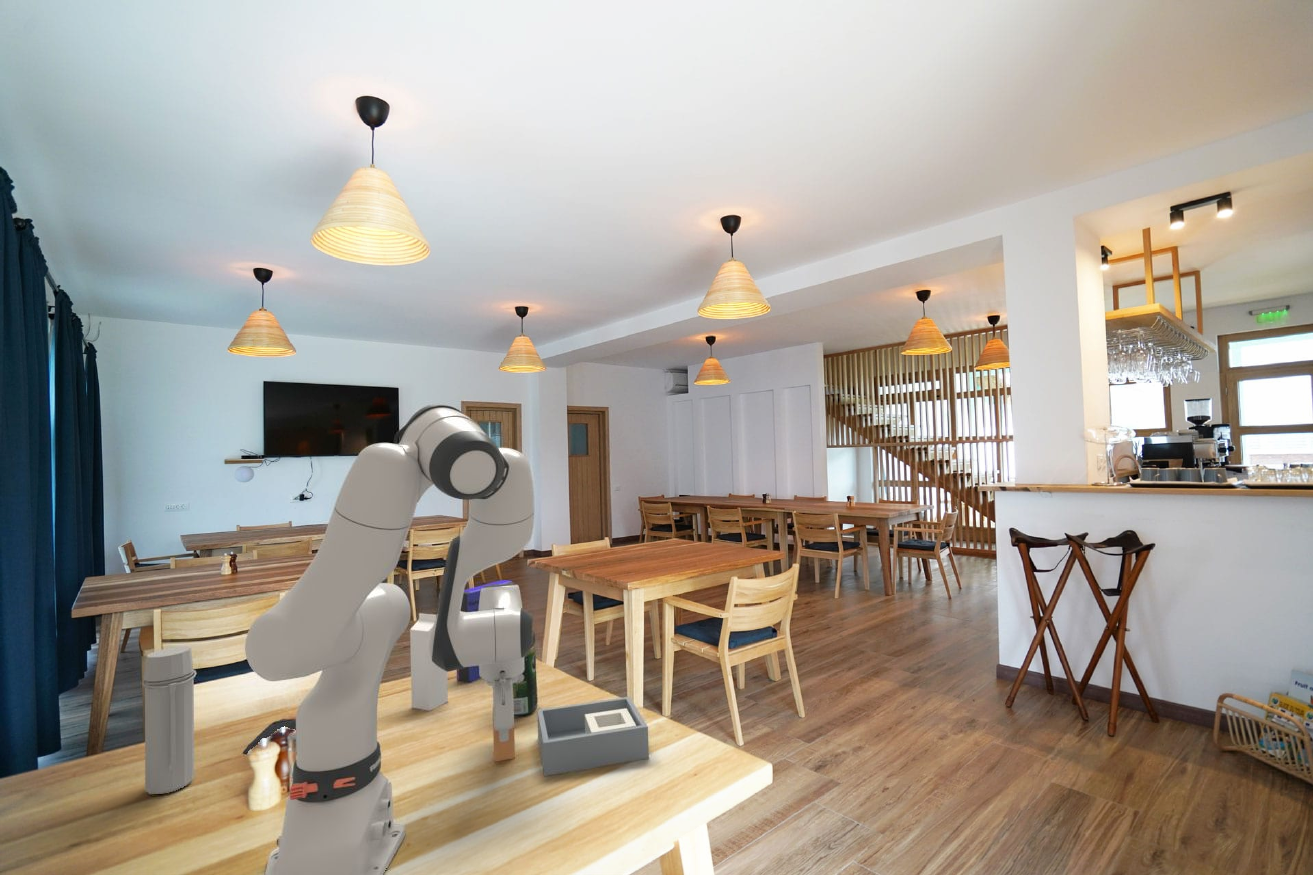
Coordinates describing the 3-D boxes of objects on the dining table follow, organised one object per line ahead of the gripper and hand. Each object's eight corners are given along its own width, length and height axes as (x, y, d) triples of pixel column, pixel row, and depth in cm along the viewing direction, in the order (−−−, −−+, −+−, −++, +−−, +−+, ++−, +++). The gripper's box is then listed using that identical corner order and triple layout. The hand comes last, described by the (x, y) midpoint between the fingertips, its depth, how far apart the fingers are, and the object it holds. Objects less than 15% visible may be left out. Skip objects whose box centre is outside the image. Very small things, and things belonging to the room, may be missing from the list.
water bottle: (140, 788, 112) (140, 652, 113) (193, 771, 118) (192, 642, 119) (145, 807, 106) (145, 663, 107) (201, 788, 111) (200, 652, 112)
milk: (429, 698, 151) (428, 610, 152) (448, 701, 149) (446, 611, 150) (411, 708, 146) (409, 615, 147) (429, 711, 143) (428, 617, 144)
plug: (515, 758, 119) (513, 707, 119) (493, 761, 118) (492, 710, 118) (514, 748, 122) (512, 700, 123) (493, 752, 121) (492, 702, 122)
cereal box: (503, 661, 178) (500, 579, 179) (515, 663, 176) (512, 580, 177) (456, 680, 163) (454, 591, 164) (469, 683, 161) (467, 593, 162)
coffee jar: (507, 702, 147) (505, 625, 148) (540, 700, 147) (537, 624, 148) (498, 719, 137) (495, 636, 138) (532, 717, 137) (530, 635, 138)
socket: (637, 745, 120) (636, 725, 120) (592, 753, 117) (591, 732, 117) (627, 727, 128) (626, 708, 128) (585, 733, 126) (584, 714, 126)
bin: (648, 757, 117) (647, 726, 117) (544, 775, 111) (543, 742, 112) (630, 724, 132) (629, 696, 132) (538, 738, 127) (537, 709, 127)
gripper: (520, 679, 112) (522, 755, 111) (516, 647, 131) (517, 711, 131) (485, 683, 110) (487, 760, 109) (486, 651, 130) (487, 716, 129)
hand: (503, 733), depth 120 cm, fingers closed on plug, 4 cm apart
